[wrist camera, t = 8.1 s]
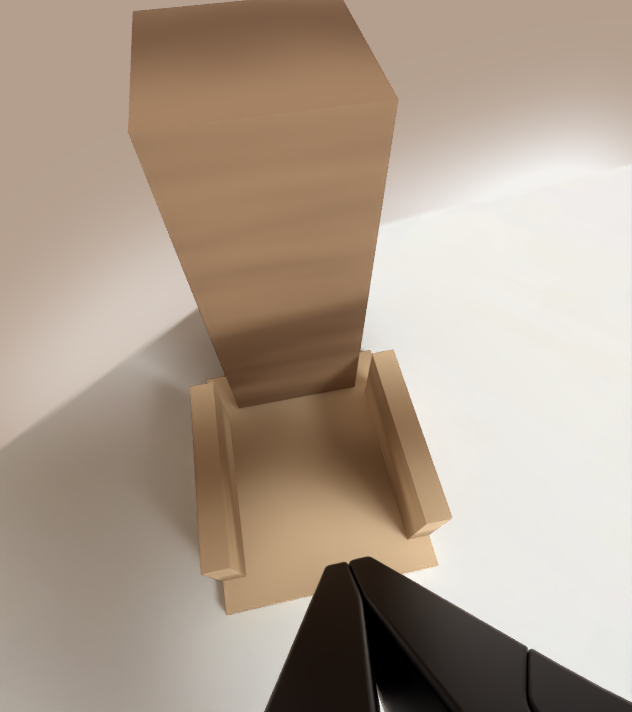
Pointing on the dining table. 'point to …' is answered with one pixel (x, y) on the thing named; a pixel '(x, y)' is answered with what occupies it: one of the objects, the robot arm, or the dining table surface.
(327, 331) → the walnut block
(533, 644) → the dining table surface
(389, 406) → the chute
